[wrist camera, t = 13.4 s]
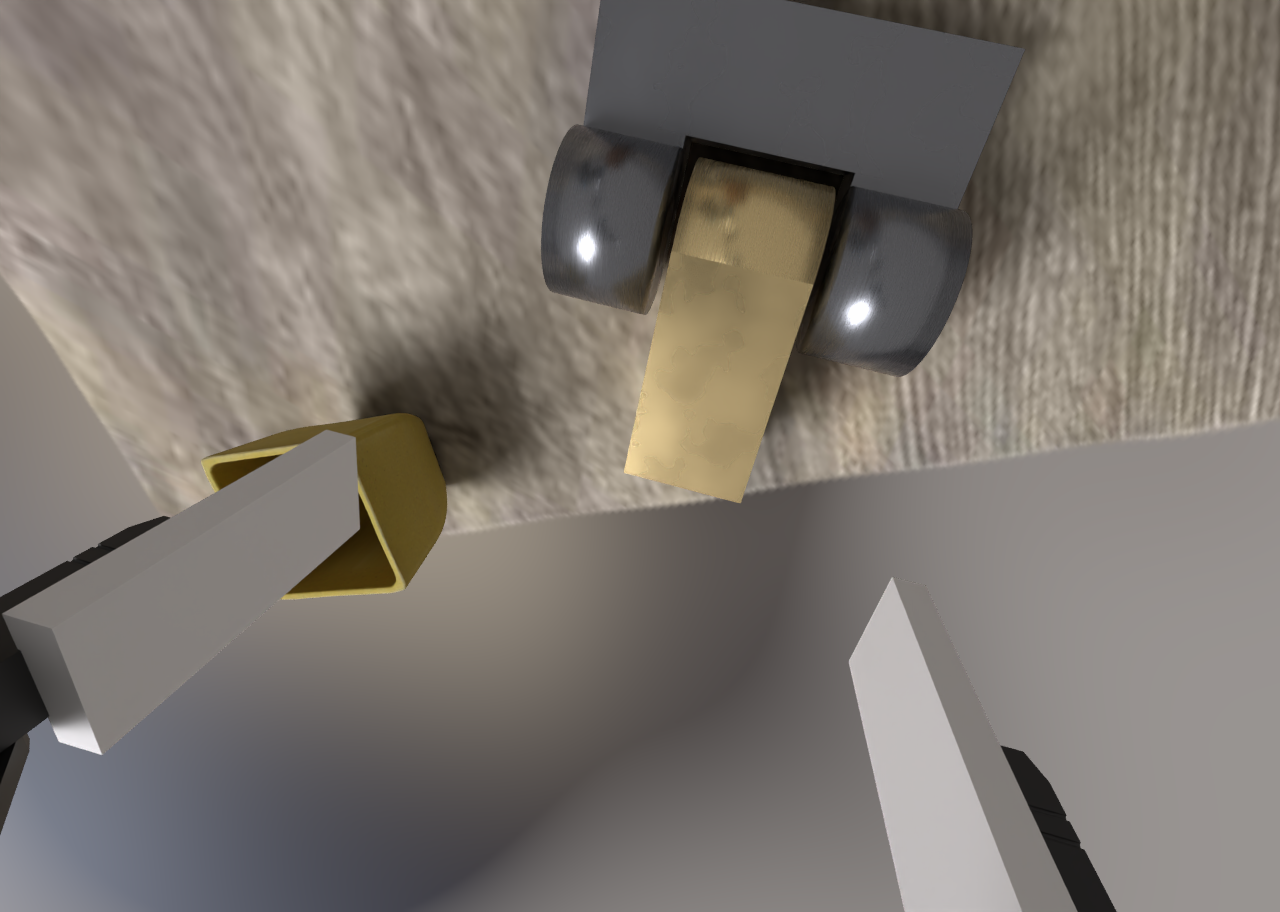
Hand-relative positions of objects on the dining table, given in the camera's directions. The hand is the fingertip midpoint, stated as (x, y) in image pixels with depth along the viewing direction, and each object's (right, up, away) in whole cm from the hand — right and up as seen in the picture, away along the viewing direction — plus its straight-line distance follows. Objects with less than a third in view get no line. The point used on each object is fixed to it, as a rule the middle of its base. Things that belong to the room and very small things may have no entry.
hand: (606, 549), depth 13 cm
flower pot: (-15, +2, +23) cm, 27 cm away
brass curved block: (+5, +10, +16) cm, 19 cm away
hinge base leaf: (+6, +15, +13) cm, 21 cm away
